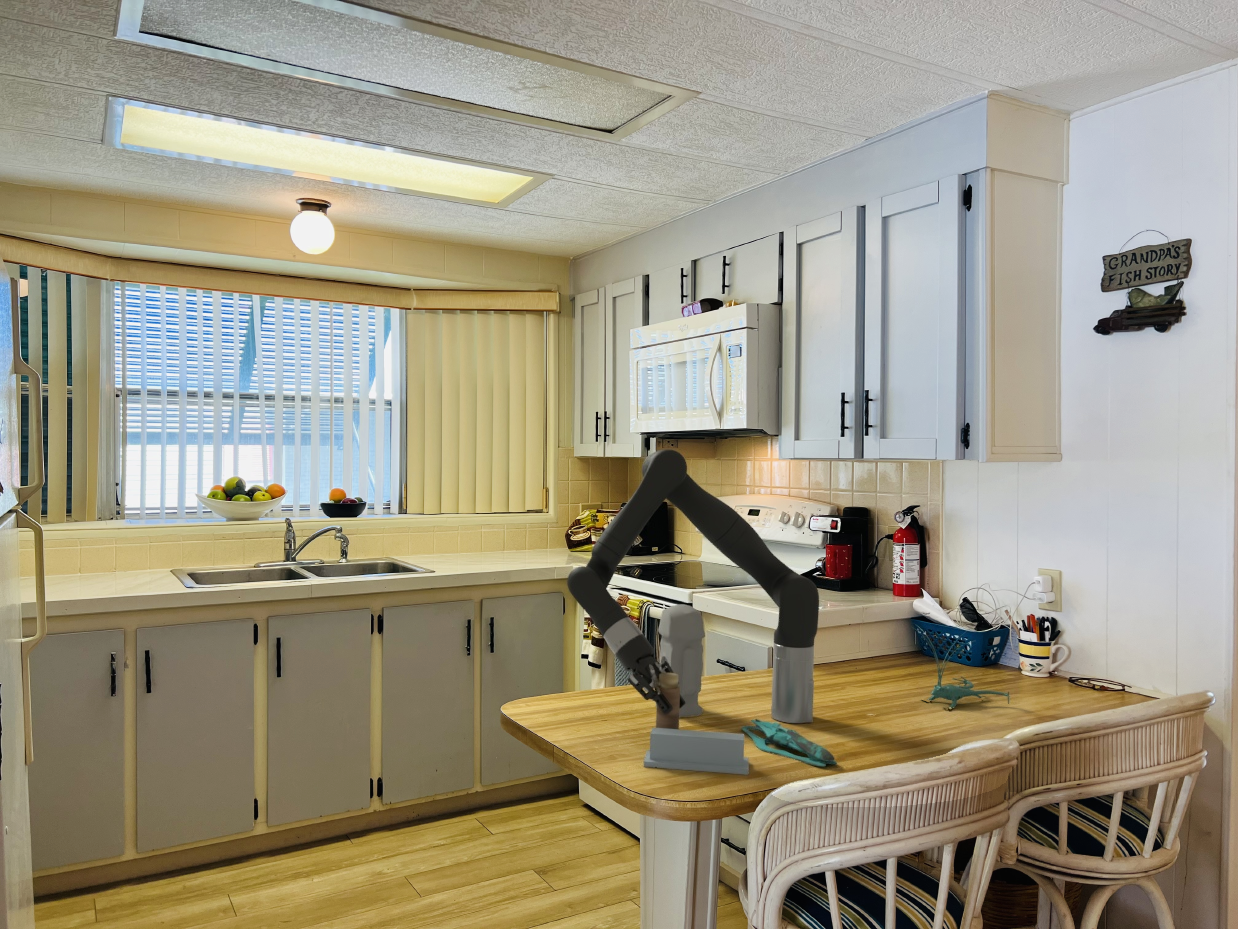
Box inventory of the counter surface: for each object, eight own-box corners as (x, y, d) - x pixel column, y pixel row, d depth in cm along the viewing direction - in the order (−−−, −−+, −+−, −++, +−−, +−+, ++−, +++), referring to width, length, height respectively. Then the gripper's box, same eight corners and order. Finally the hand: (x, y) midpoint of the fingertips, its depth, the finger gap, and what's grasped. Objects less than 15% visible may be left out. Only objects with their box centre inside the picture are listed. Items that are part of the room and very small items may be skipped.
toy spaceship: (809, 778, 174) (811, 753, 174) (723, 733, 198) (724, 710, 198) (853, 770, 180) (854, 745, 180) (764, 727, 204) (765, 705, 203)
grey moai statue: (713, 717, 210) (717, 609, 209) (673, 721, 206) (677, 610, 205) (684, 700, 223) (687, 599, 223) (646, 704, 219) (649, 600, 219)
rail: (748, 762, 179) (749, 732, 179) (748, 774, 172) (749, 743, 172) (647, 754, 182) (648, 725, 182) (643, 766, 175) (644, 735, 175)
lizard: (880, 699, 233) (882, 618, 232) (956, 690, 242) (958, 612, 242) (944, 724, 212) (946, 635, 211) (1024, 713, 221) (1026, 628, 221)
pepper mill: (679, 731, 193) (681, 673, 193) (677, 738, 188) (679, 678, 188) (656, 730, 194) (658, 671, 193) (654, 737, 189) (656, 677, 189)
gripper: (621, 638, 189) (670, 706, 182) (656, 628, 201) (703, 691, 194) (599, 660, 192) (647, 728, 185) (635, 648, 204) (681, 712, 197)
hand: (675, 709), depth 190 cm, fingers closed on pepper mill, 4 cm apart
